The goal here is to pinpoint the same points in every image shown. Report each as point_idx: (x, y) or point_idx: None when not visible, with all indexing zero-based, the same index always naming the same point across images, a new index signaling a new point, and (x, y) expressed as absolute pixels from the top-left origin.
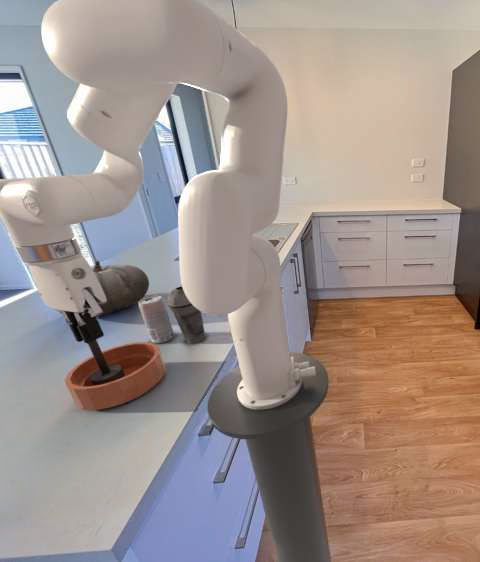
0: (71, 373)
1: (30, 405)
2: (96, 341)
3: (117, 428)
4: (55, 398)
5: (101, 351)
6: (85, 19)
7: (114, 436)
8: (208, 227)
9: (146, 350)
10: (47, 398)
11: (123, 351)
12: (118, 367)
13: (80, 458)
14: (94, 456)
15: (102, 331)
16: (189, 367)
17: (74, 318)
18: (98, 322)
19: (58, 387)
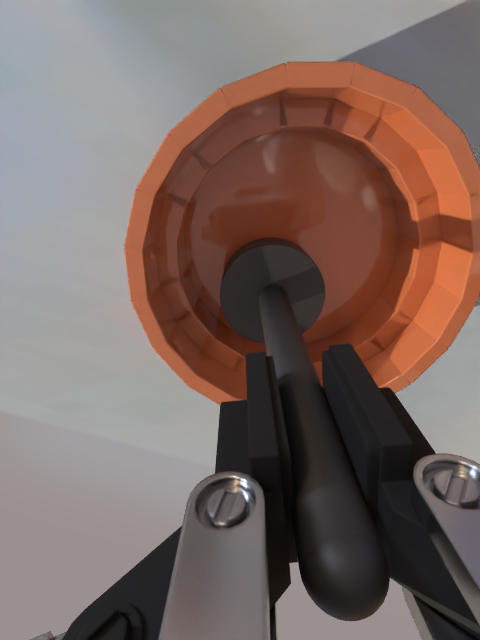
0: (201, 381)
1: (106, 401)
2: (313, 367)
3: (452, 364)
4: (136, 363)
5: (297, 328)
6: None
7: (468, 381)
8: None
9: (274, 99)
10: (113, 371)
11: (177, 166)
12: (288, 257)
13: (445, 437)
14: (473, 425)
15: (358, 356)
16: (464, 54)
17: (279, 592)
18: (391, 410)
19: (75, 335)
